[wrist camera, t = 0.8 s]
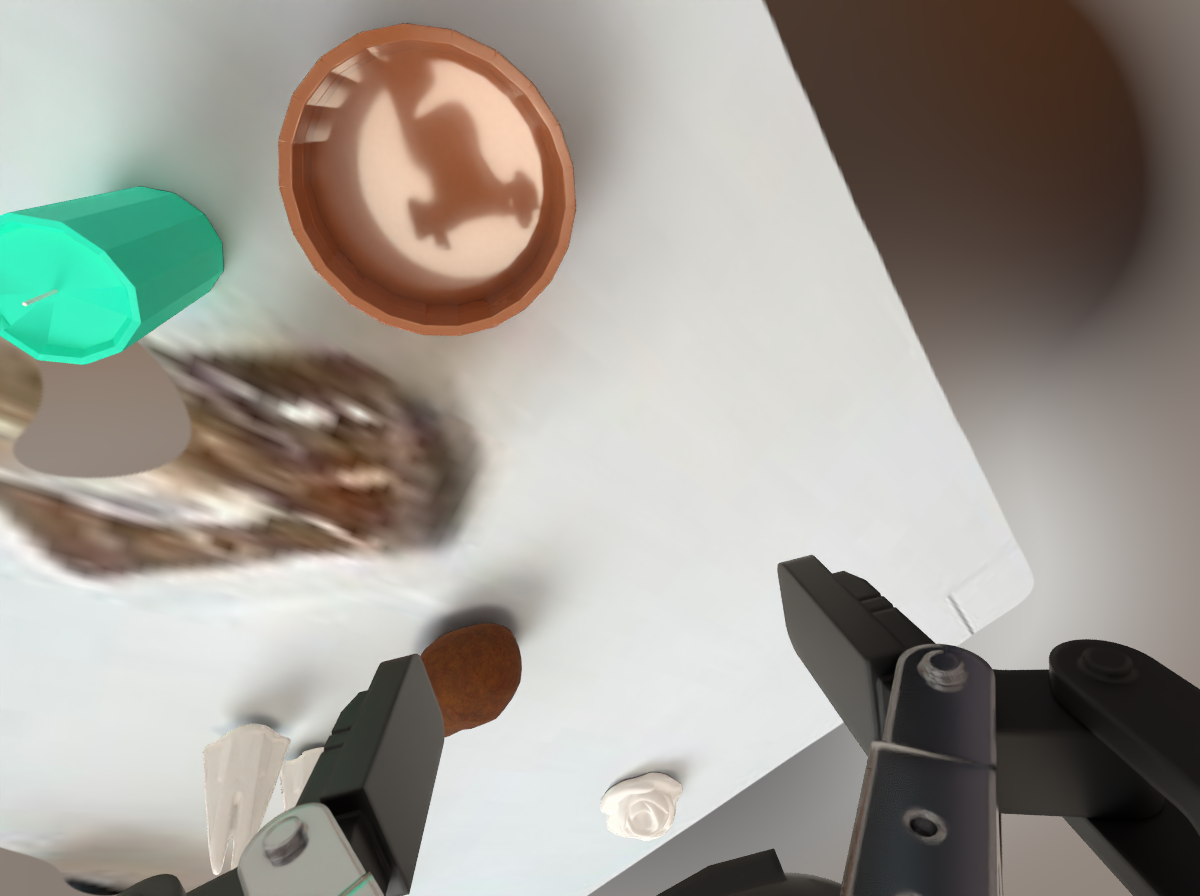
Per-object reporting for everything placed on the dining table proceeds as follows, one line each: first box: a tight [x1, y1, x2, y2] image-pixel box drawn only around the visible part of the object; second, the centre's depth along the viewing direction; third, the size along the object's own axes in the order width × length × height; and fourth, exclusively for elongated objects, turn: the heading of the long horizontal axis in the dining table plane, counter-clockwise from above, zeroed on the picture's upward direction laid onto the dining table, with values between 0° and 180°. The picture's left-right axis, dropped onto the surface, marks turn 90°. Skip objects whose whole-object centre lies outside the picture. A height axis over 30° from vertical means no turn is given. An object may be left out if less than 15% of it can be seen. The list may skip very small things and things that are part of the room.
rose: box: [601, 772, 682, 841], centre depth 66 cm, size 10×4×10 cm
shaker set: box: [203, 723, 324, 875], centre depth 47 cm, size 12×4×11 cm, turn 38°
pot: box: [278, 23, 576, 336], centre depth 31 cm, size 14×14×5 cm
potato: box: [420, 623, 522, 737], centre depth 48 cm, size 8×11×8 cm
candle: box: [0, 186, 223, 365], centre depth 27 cm, size 6×6×12 cm
